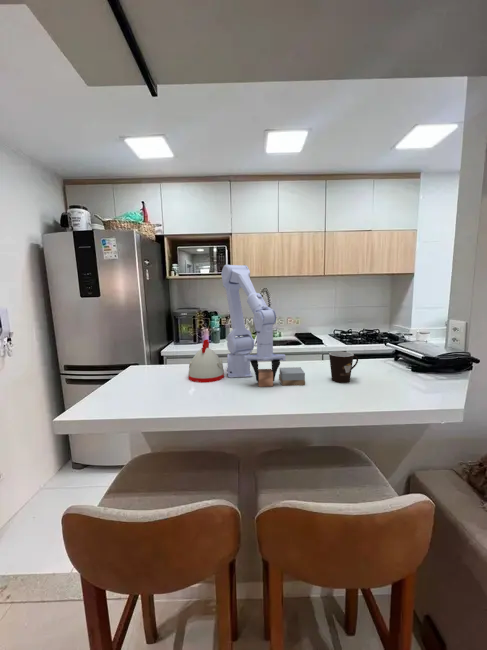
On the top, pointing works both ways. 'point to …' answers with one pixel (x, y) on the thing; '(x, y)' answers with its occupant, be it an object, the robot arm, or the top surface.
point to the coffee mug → (341, 366)
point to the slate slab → (292, 373)
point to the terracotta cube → (265, 377)
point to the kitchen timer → (206, 366)
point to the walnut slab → (291, 382)
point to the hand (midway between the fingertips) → (265, 380)
